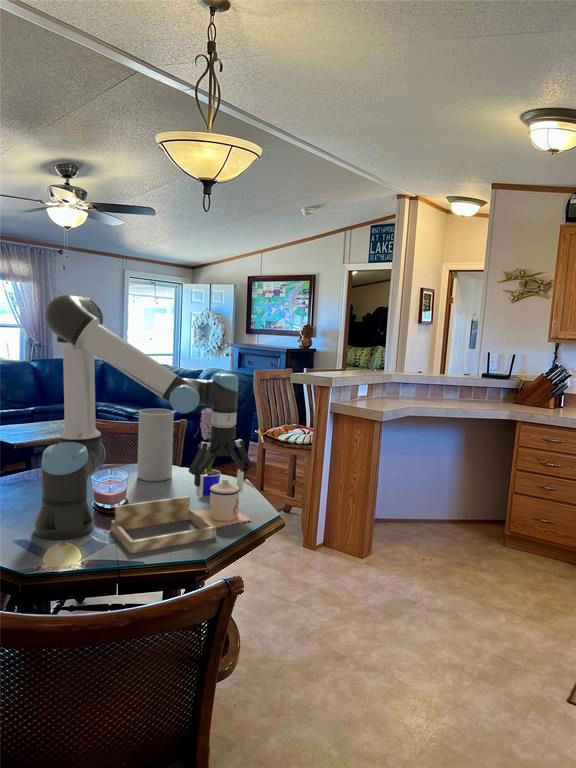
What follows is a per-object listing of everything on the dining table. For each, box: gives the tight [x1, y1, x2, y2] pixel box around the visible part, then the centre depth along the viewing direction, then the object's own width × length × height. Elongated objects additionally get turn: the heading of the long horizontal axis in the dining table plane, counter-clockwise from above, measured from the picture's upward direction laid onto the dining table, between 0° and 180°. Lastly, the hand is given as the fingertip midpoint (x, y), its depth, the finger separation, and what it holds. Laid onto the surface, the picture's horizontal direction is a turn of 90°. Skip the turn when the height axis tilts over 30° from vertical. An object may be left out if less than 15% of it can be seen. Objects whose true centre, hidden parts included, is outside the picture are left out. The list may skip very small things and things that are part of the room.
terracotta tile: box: [194, 508, 252, 529], centre depth 171 cm, size 14×14×1 cm
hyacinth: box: [197, 407, 222, 496], centre depth 193 cm, size 9×10×30 cm
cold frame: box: [110, 495, 217, 555], centre depth 155 cm, size 24×17×7 cm
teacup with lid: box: [209, 478, 241, 521], centre depth 171 cm, size 12×9×12 cm
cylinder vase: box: [137, 408, 175, 483], centre depth 207 cm, size 12×12×25 cm
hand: (219, 493), depth 170 cm, fingers open, 13 cm apart
